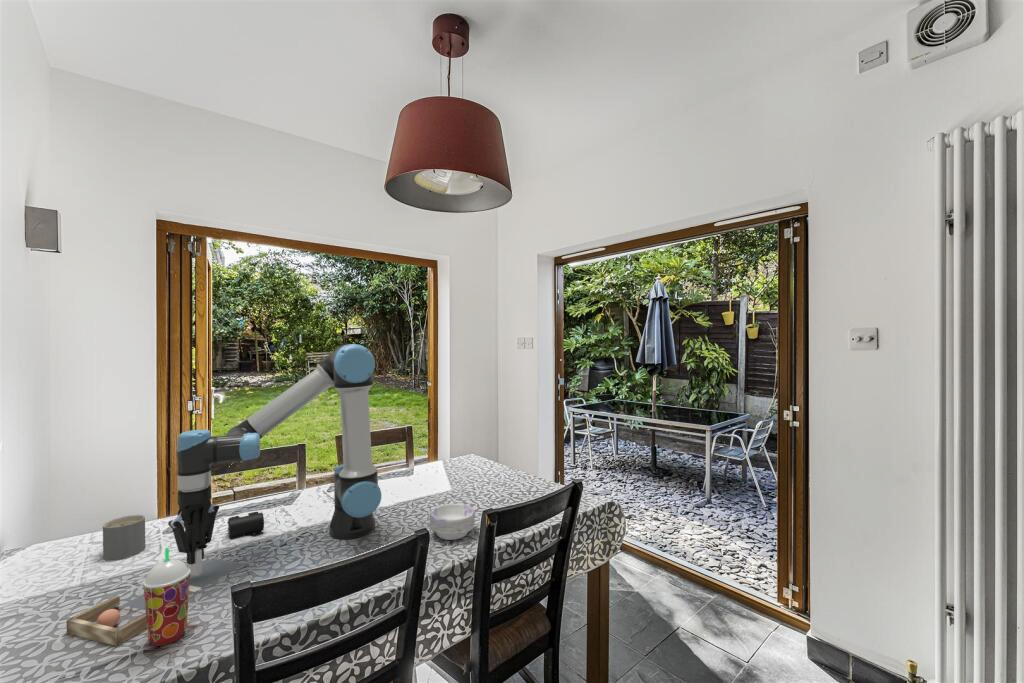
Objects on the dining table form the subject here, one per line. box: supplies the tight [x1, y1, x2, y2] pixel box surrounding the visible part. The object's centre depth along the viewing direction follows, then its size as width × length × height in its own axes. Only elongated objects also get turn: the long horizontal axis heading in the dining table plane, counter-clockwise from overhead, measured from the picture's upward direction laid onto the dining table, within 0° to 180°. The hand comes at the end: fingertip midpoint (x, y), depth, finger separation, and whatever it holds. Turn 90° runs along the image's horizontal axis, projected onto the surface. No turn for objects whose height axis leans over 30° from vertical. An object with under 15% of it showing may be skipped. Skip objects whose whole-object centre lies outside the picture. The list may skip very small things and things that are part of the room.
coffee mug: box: [102, 514, 146, 561], centre depth 140 cm, size 13×10×10 cm
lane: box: [122, 557, 245, 615], centre depth 119 cm, size 12×24×1 cm, turn 164°
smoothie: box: [142, 547, 191, 647], centre depth 98 cm, size 8×8×20 cm
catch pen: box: [66, 595, 148, 647], centre depth 103 cm, size 16×10×3 cm, turn 74°
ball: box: [96, 609, 121, 628], centre depth 102 cm, size 4×4×4 cm
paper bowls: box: [429, 503, 476, 541], centre depth 149 cm, size 15×15×8 cm
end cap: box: [227, 511, 265, 539], centre depth 150 cm, size 10×7×7 cm
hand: (195, 573), depth 121 cm, fingers closed
